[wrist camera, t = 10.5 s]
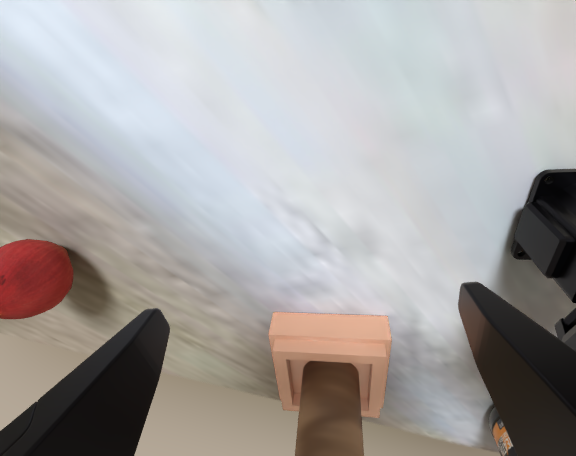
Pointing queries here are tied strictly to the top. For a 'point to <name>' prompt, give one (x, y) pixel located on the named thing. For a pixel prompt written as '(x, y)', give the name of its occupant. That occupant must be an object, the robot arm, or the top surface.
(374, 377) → the mill holder
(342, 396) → the pepper mill
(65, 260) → the onion
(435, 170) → the top surface
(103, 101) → the top surface
